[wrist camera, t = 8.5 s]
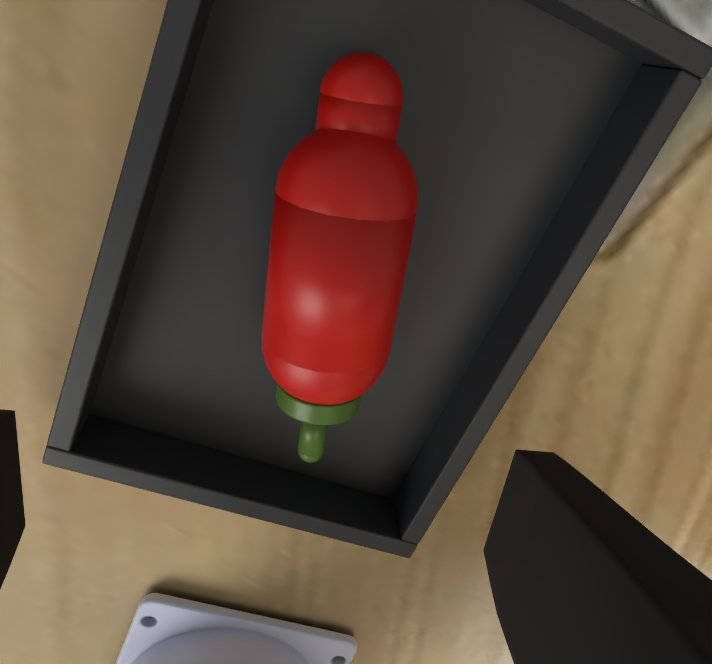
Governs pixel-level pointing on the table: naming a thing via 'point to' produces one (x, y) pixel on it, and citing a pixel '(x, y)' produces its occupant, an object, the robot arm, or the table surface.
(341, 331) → the chili
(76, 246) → the table surface
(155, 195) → the tray
